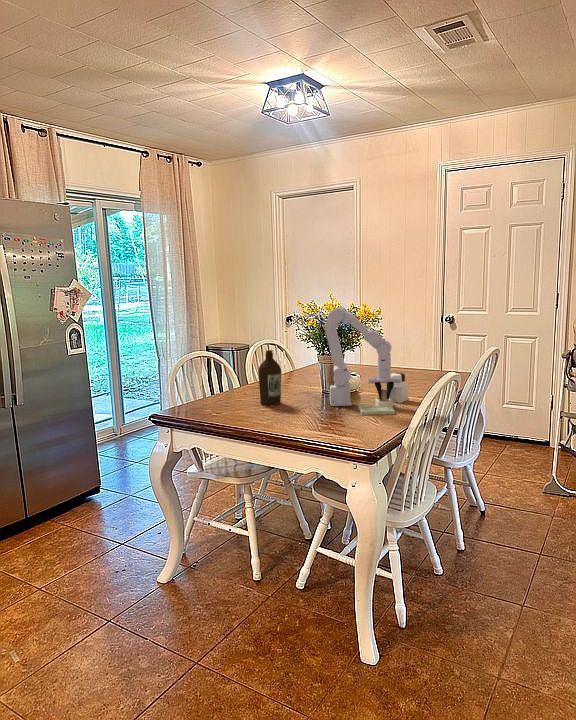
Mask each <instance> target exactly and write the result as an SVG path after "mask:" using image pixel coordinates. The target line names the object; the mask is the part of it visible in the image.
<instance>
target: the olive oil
mask: <svg viewBox="0 0 576 720" xmlns="http://www.w3.org/2000/svg"><path fill="white" fill-rule="evenodd" d="M257 370H258V385H259V399H260V400H259V401H260V405H261V404H264V405H263V406H265V405H274V406H277V405H276V404H279V403H280V404H282V403H281V401H282V398H281V397H282V395H281V394H282V392H281V391H282V390H281V388H282V368H281V365H280V364H279V363H278V362H277V361H276V360H275V359H274V353H273V350H272V349H266V350H265V359H264V360H263V361H262V363H260V365H259V366H258V369H257ZM280 404H279V405H280Z"/></svg>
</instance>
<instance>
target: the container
mask: <svg viewBox="0 0 576 720" xmlns="http://www.w3.org/2000/svg"><path fill="white" fill-rule="evenodd" d="M391 378H400V379H401V383H394V386H393V388H392V390H391V393H390V396H389V398H390V399H391V400H392V401H393V403H397V402H398V403H397V404H403V403H404V401H405V402H407V401H409V391H410V389H409V383H406V374H405V373H403V372H391Z"/></svg>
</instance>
